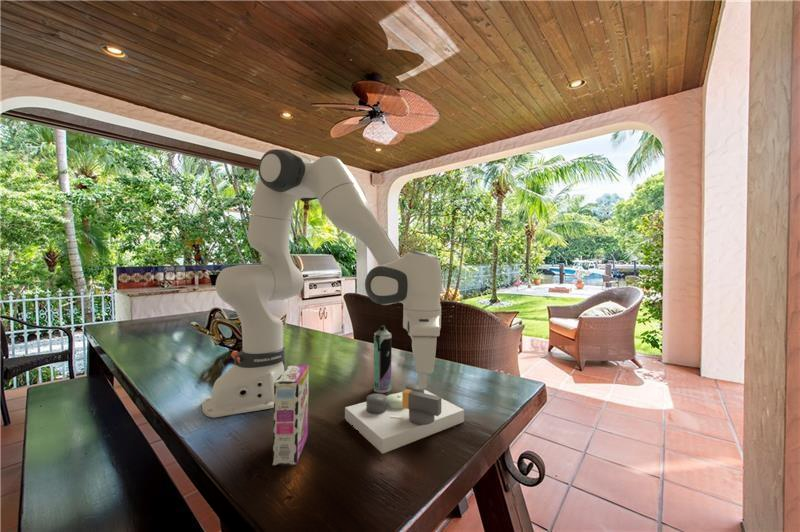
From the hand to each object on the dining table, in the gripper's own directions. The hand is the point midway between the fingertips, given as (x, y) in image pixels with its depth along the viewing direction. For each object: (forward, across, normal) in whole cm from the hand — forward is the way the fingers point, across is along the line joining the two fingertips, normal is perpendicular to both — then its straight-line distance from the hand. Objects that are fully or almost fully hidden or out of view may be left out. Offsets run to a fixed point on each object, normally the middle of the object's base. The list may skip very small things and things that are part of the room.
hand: (420, 379), depth 76 cm
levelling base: (+12, -5, -4) cm, 14 cm away
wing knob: (+9, 0, 0) cm, 9 cm away
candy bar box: (+13, +8, -27) cm, 31 cm away
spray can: (+13, -25, -10) cm, 30 cm away
